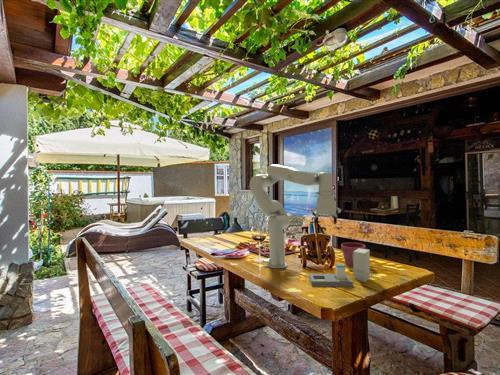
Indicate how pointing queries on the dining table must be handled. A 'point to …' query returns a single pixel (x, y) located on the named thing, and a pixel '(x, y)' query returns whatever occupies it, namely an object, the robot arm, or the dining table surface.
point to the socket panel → (329, 280)
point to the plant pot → (350, 251)
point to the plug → (340, 271)
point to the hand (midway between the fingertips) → (326, 224)
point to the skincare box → (361, 264)
